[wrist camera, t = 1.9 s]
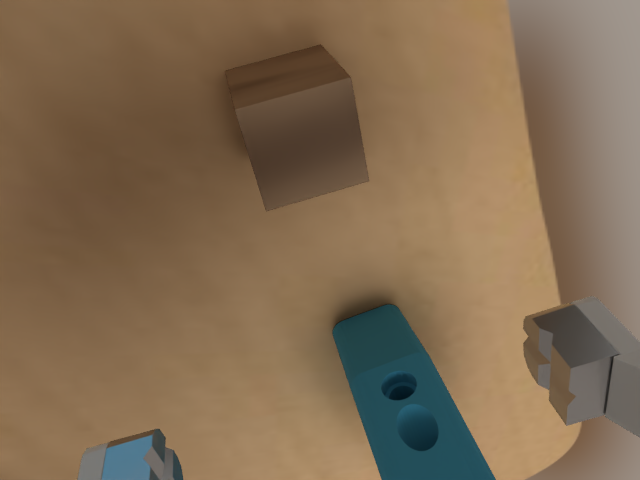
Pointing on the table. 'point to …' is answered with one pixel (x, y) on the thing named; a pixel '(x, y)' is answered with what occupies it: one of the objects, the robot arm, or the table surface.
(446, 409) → the block
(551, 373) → the robot arm
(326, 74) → the walnut block
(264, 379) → the table surface
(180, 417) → the table surface
